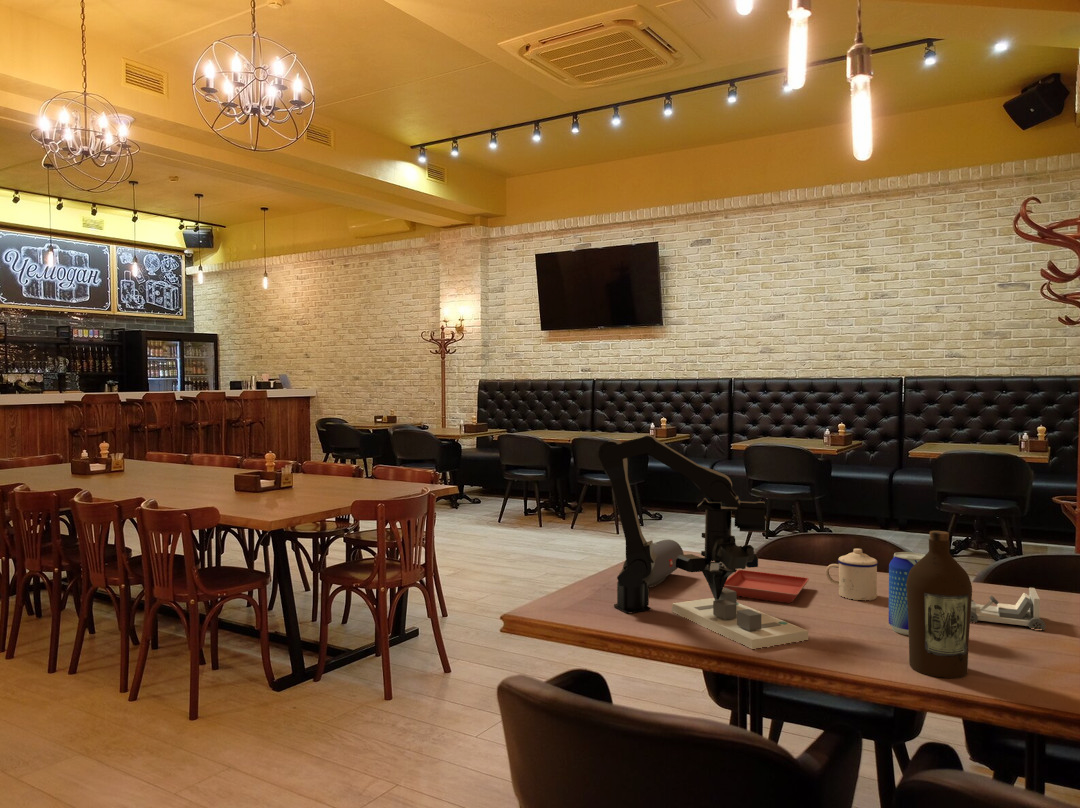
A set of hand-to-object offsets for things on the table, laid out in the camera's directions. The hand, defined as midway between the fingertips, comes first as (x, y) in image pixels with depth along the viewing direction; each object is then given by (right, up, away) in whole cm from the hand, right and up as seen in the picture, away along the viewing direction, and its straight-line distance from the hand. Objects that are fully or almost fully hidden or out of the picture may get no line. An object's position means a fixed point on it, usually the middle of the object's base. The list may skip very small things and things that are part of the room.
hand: (716, 599), depth 175 cm
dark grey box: (0, -2, -9) cm, 9 cm away
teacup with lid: (+37, -3, +16) cm, 40 cm away
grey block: (+2, -1, +1) cm, 3 cm away
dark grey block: (+3, -2, -16) cm, 16 cm away
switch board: (+3, -4, -8) cm, 9 cm away
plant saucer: (+17, -4, +20) cm, 26 cm away
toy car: (+61, -4, -3) cm, 61 cm away
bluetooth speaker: (-10, -3, +30) cm, 31 cm away
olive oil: (+33, -5, -34) cm, 47 cm away
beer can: (+38, -4, -11) cm, 40 cm away
